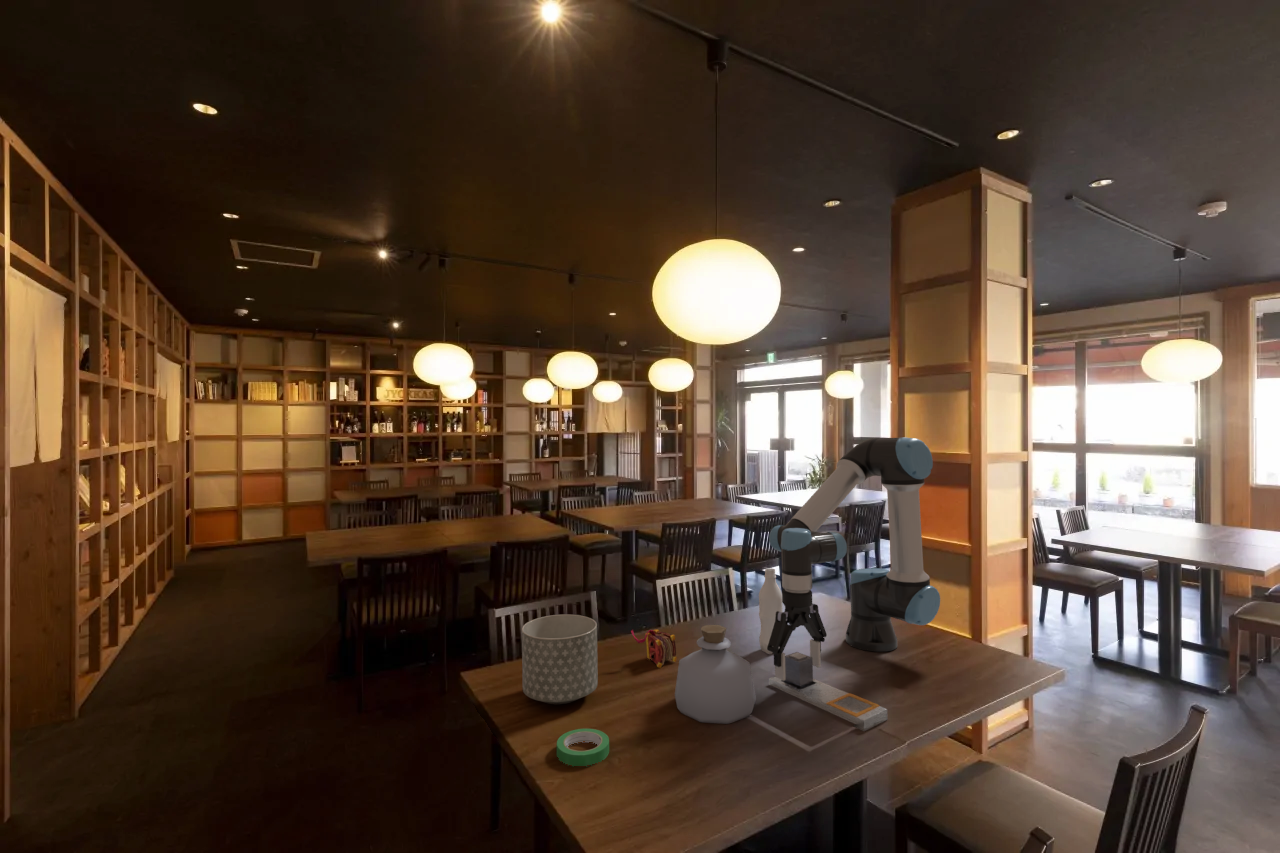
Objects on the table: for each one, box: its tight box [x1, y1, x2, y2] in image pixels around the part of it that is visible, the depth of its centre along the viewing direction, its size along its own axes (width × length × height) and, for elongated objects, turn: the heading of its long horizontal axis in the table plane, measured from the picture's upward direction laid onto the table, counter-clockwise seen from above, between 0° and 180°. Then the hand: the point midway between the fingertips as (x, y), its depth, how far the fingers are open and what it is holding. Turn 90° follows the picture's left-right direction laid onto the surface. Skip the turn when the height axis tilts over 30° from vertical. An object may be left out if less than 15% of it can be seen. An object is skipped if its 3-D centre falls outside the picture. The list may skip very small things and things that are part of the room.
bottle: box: [674, 624, 757, 725], centre depth 143 cm, size 20×20×19 cm
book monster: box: [630, 629, 678, 669], centre depth 170 cm, size 11×9×12 cm
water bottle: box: [758, 567, 784, 655], centre depth 178 cm, size 7×7×25 cm
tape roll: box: [556, 728, 610, 767], centre depth 123 cm, size 11×11×3 cm
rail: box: [768, 675, 888, 732], centre depth 143 cm, size 9×28×3 cm, turn 35°
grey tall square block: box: [785, 651, 814, 690], centre depth 150 cm, size 5×5×8 cm
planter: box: [521, 614, 599, 705], centre depth 149 cm, size 19×19×18 cm
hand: (798, 672), depth 150 cm, fingers open, 13 cm apart
